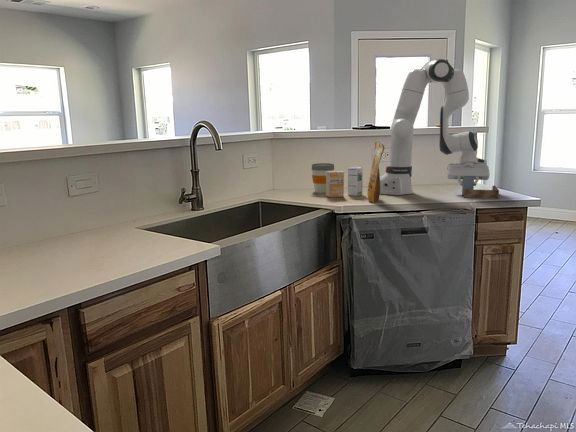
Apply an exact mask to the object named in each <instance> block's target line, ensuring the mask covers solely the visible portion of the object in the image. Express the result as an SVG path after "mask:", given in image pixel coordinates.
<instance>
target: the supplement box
mask: <svg viewBox="0 0 576 432" xmlns="http://www.w3.org/2000/svg"><path fill="white" fill-rule="evenodd" d="M344 183H345V172H344V171H342V170H337V171H335V170H334V171H326V193H325V196H326V197H327V198H342V197H343V198H344V194H345V193H344V191H345V190H344V189H345V188H344V187H345V185H344Z"/></svg>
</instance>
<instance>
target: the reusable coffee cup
mask: <svg viewBox="0 0 576 432" xmlns="http://www.w3.org/2000/svg"><path fill="white" fill-rule="evenodd" d="M326 171H335V164H334V163H331V162H330V163H328V162H327V163H324V162H323V163H322V162H321V163H320V162H319V163H312V164H311V172H312V174H311V177H312V183H313V187H314V192H315V193H320V194H321V193H322V194H326Z"/></svg>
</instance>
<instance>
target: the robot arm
mask: <svg viewBox="0 0 576 432" xmlns="http://www.w3.org/2000/svg"><path fill="white" fill-rule="evenodd" d="M429 83H440V84H441V85H442V86H443V88H444V94H445V95H444V96H445V100H444V103H443V104H442V105H441V107H440V111H439V112H440V113H439V115H440V116H439V140H438V141H439V142H438V147H439V151H440V152H441V153H442V154H444V155H451V154H456V153H459V163H449V164H447V165H446V169H447V179H449V180H457V182H458V183H459V186H462V185H463V177H474V186H475V187H477V185H478V184H477V183H478V182H479V181H487V180H489V179H490V173H491V172H490V169H489V165H488V164H487V160H486V159H483V158H481V157H480V158H479V157H478V156H477V155H478V148H479V142H478V137H477V135H476V134H475V133H474V132H472V131H463V132H460V133H453V134H449V119H450V117H451V116H452V115H453V114H454V113H456V112H458V111H459V110H461V109H462V108H464V107H465V106H466V105H467V103H468V101H469V99H470V93H469V87H468V81H467V79H466V76H465V72H464V71H463V70H462V69H460V68H454V67H453V66H452V65H451V63H450V62H449V61H447V60H446V59H443V58H435V59H431V60H430V61H428V62H426V63H425V64H424V65H423V67H422V68H414V69H411V70H410V71H409V73H407V76H406V78H405V80H404V83H403V86H402V89H401V92H400V96H399V100H398V102H397V103H398V104H397V105H396V109H395V112H394V115H393V119H392V123H391V125H390V134H391V135H390V147H389V148H390V151H389V153H390V154H389V165H387V166H385V173H384V174H383V175H381V176H380V195H391V196H403V195H409V194H413V193H414V190H413V185H412V175H413V166H412V159H413V158H412V157H413V156H412V154H413V153H412V151H413V141H414V130H415V129H414V125H415V121H416V119H417V116H418V113H419V111H420V108H421V105H422V101H423V98H424V95H425V90H426V87H427V86H428V85H429ZM474 186H473V187H474Z"/></svg>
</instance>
